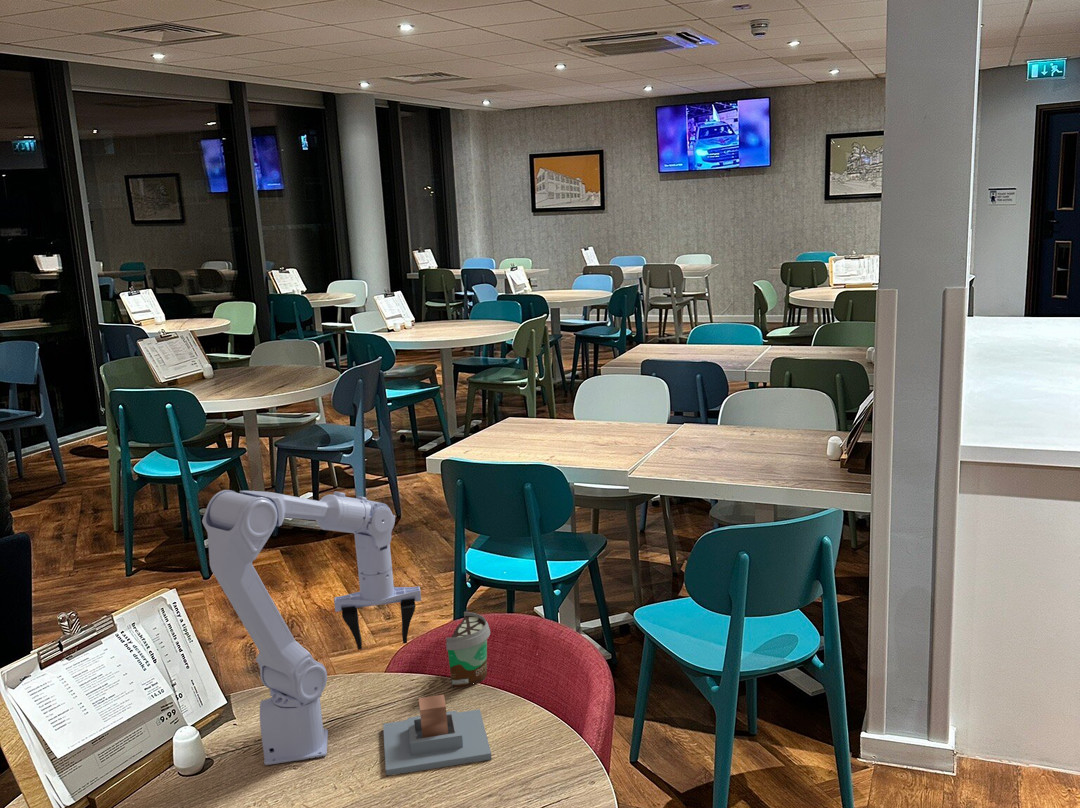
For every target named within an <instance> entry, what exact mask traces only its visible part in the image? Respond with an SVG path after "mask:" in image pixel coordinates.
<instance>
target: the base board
mask: <svg viewBox="0 0 1080 808" xmlns="http://www.w3.org/2000/svg"><path fill="white" fill-rule="evenodd" d="M446 714H447V725H448V734H446V735H439V736H433V737H426V738H422V728H421V717H420V715H418V716H411V717H407V719H405V720H399V721H392V722H385V723H383V724H382V725H383V726H382V727H383V744H384V745H383V747H384V748H383V749H384V763H385V764H384V765H385V776H386V775H390V776H394V775H393V774H396V775H401V774H400V773H402V774H406V773H408V772H409V773H414V772H420V771H421V772H422V771H426V770H427V771H428V770H432V769H438V768H439V769H440V768H445V767H452V766H456V765H463V764H471V763H477V762H482V761H489V760H490V761H491V760H493V759H492V751H491V747H490V744H489V740H488V736H487V735H488V734H487V732H486V728H485V723H484V721H483V716H482V713H481V709H473V710H472V709H471V710H466V711H459V712H458V710H451V711H450V710H449V711H446ZM409 773H408V774H409Z"/></svg>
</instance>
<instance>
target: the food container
mask: <svg viewBox="0 0 1080 808" xmlns="http://www.w3.org/2000/svg"><path fill="white" fill-rule="evenodd" d="M463 616H464V617H463V619H462V621H461V622H460V623H459V624H458V625H457V626H456V628H455V629H454V631H453V634H452V635H451V637H446V638H445V639H446V642H445V647H446V651H447V656H448V665H449V673H450V679H451V686H452V687H451V688H452V689H463V688H468V687H473V686H476V685H478V684H480V683H482V682H483V681H484V680H485V679H486V678H487V676H488V673H487V672H488V659H487V658H488V639H489V637H490V635H491V629H490V626H489V623H488V621H487V619H486V618H485V617H484V616H483V615H481V614H478V613H475V612H470V611H464V612H463ZM473 683H474V684H473Z"/></svg>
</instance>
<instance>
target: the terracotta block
mask: <svg viewBox="0 0 1080 808" xmlns="http://www.w3.org/2000/svg"><path fill="white" fill-rule="evenodd" d="M418 704H419V716H420V717H421V728H422V738H426V737H433V736H439V735H446V734H448V725H447V714H446V712H447V705H446V698H445V694H439V695H433V696H432V695H431V696H430V695H429V696H425V697H424V696H423V697H418Z"/></svg>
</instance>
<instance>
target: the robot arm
mask: <svg viewBox="0 0 1080 808" xmlns="http://www.w3.org/2000/svg"><path fill="white" fill-rule="evenodd" d="M285 518H286V519H297V520H310V521H316V524H317V526H318V527H319V528H320V529H322V530H323V531H333V532H341V533H350V534H354V542H355V543H354V544H355V552H356V564H357V571H358V572H357V573H358V574H357V575H358V582H359V591H358V592H356V591H355V592H353V593H349V594H345V595H341V596H335V597H334V598H333V599H334V600H333V601H334V603H333V604H334V611H335V613H337V612H341V617H342V620H343V621H344V623H345V624H346V625H347V627H348V628H349V630H350V632H351V634H352V635H353V638H354V640H355V643H356V647H357V650H362V649H363V642H362V634H361V629H360V623H359V612H358V608H365V607H371V606H380V605H387V604H396V603H400V614H401V615H400V616H401V636H402V638H401V639H402V644H408V633H409V629H410V625H411V621H412V618H413V615H414V613H415V610H416V602H422V595H421V594H422V593H421V592H422V591H421V587H420V586H409V587H407V586H397V587H396V586H394V576H393V573H394V572H393V565H392V564H393V562H392V554H391V553H392V552H391V541H392V532H393V529H394V526H395V522H396V515H395V514H393V512H392V510H391V508H390V507H389V505H388V504H386V503H384V502H379V501H375V500H369V499H368V498H367V497H365V496H360V495H358V496H357V498H355V497H348V496H346V493H345V492H341V491H333V494H330V493H329V494H326V495H324V496H322V497H321V498H320V499H319V500H316V499H310V498H304V497H300V496H299V497H298V496H293V495H288V494H283V493H279V492H278V493H277V492H271V491H260V490H259V491H257V490H239V492H236V491H235V490H230V489H223V490H220V491H219V492H217V493H215V494H214V495H213V496H212V497H211V499H210V500H209V502H208V504H207V506H206V508H205V512H204V513H203V517H202V520H201V522H202V524H203V527H204V529H205V530H206V533H207V542H208V543H207V544H208V558H209V567H210V570H211V573H212V574H213V575H214V577H215V579H216V581H217V583H218V584H219V585H220V588H221V589H222V591H223V593H224V594H225V596H226V597H227V599H228V601H229V603H230V604H231V606H232V607H233V609H234V611H235V613H236V614H237V616H238V618H239V619H240V621H241V623H242V625H243V627H244V628H245V629H246V631H247V633H248V635H249V636H250V638H251V639H252V642H253V643H254V644H255V646H256V648H257V650H258V652H259V653H258V654H257V656H256V657H255V660H256V663H257V665H258V666H259V672H260V675H259V677H260V680H261V683H262V684H263V685H264V687H266V688H268V689H269V692H270V693H269V695H270V697H269V698H265V699H262V700H260V703H259V726H260V734H261V744H262V749H263V750H262V751H263V758H264V761H263V763H264V765H265V766H269V765H270V766H271V765H276V764H281V763H282V764H283V763H289V762H297V761H302V760H309V758H310V759H315V757H316V758H322V756H323V757H326V756H327V755H328V739H329V730H328V729H327V728H324V724H323V715H322V714H323V713H322V706H321V697H322V694H323V692H324V690H325V688H326V686H327V681H328V672H327V669H326V667H325V665H324V664H323V663H321V662H319V661H316V659H314V657H313V655H312V654H311V652H310V651H309V650H307V649H306V648H304V647H303V645H301V644H300V643H299V642H298V641H296V639H295V638H294V635H293V634H292V631H290V629H289V627H288V625H287V624H286V622H285V619H284V618H283V616H282V615H281V613H280V611H279V609H278V607H277V606H276V604H275V602H274V600H273V598H272V597H271V595H270V594H269V592H268V589H267V588H266V586H265V584H264V583H263V581H262V579H261V577H260V576H259V574H258V572H257V570H256V568H255V567H254V565H253V562H254V561H255V560H256V559H257V558H258V556H259V554H260V553H261V552H262V550H263V548H264V546H265V545H266V543H267V542H268V540H269V539H270V537H271V535H272V533H273V532H274V530H275V529H276V527H280V526H282V525H283V522H284V520H285Z"/></svg>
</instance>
